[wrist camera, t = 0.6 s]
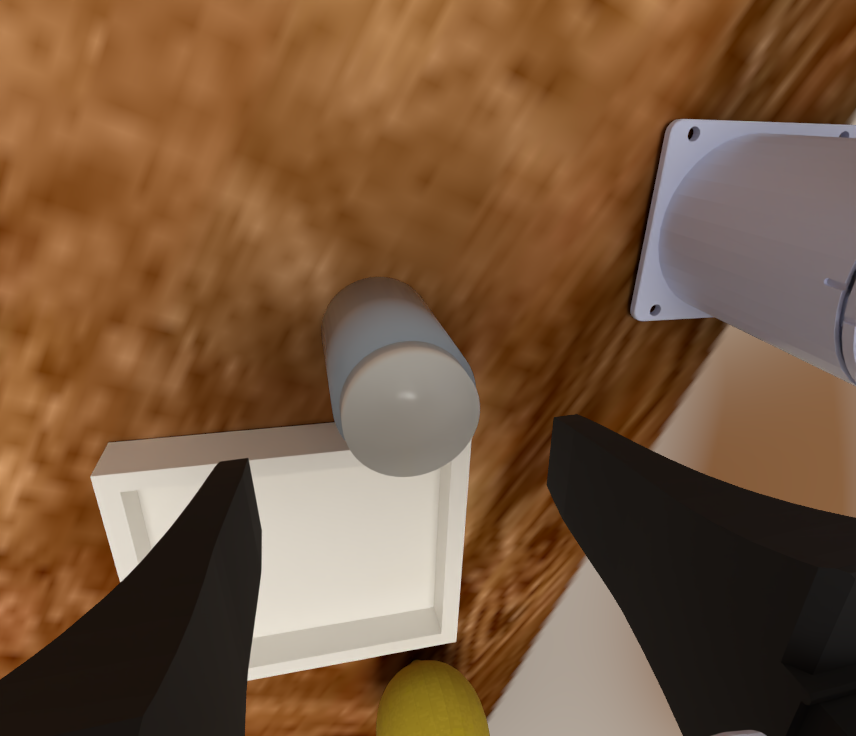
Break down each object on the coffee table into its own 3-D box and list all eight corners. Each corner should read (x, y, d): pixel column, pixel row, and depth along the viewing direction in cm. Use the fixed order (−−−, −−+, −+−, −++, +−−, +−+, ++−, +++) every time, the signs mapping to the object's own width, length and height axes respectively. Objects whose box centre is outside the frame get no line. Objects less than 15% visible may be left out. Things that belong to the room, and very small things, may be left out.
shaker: (432, 274, 21) (492, 343, 15) (429, 376, 23) (480, 473, 17) (318, 278, 20) (331, 352, 14) (324, 384, 22) (337, 490, 16)
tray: (456, 411, 24) (471, 437, 22) (444, 606, 29) (456, 641, 27) (108, 442, 21) (90, 476, 19) (162, 654, 26) (153, 698, 24)
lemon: (406, 707, 32) (440, 876, 25) (346, 669, 30) (364, 844, 22) (481, 654, 32) (536, 811, 25) (426, 610, 29) (470, 771, 22)
